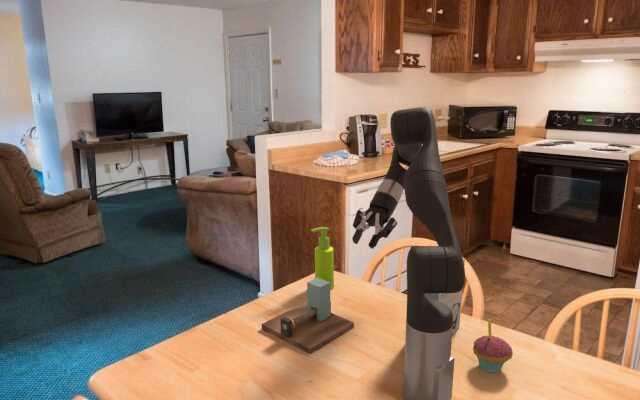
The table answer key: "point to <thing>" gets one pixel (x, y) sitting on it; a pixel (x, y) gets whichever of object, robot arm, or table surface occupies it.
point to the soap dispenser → (324, 257)
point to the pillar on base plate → (307, 328)
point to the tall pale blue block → (319, 298)
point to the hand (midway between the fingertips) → (362, 244)
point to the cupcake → (492, 351)
